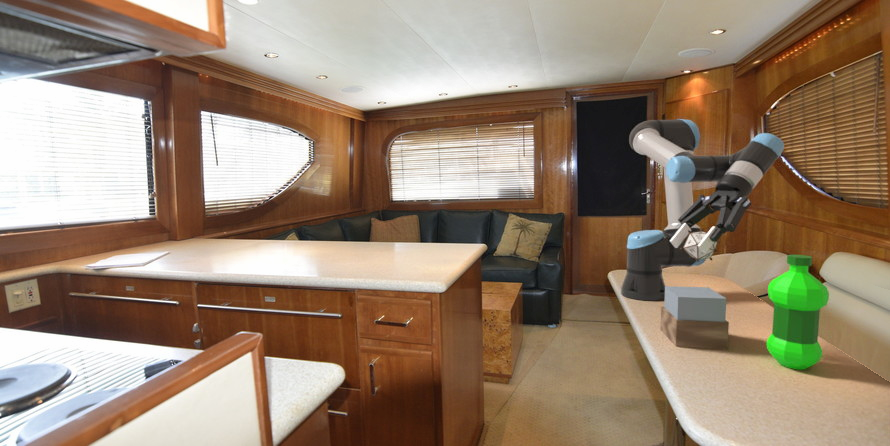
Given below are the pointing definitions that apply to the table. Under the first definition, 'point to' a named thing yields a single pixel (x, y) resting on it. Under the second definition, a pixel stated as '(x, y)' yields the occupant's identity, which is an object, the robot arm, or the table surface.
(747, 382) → the table surface
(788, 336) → the plastic bottle
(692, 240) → the game die
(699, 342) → the tower base
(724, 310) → the tower top
